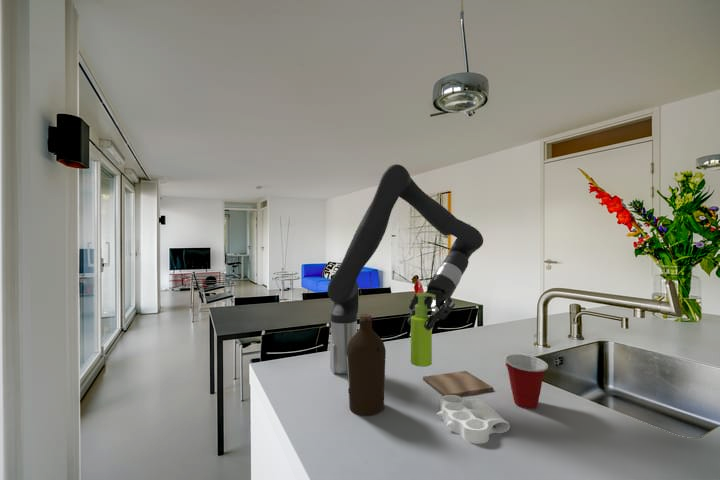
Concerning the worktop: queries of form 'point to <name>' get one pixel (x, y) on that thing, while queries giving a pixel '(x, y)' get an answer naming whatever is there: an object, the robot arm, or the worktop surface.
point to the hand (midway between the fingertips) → (418, 326)
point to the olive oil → (366, 369)
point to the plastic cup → (525, 378)
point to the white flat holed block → (471, 418)
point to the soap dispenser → (421, 334)
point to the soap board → (457, 383)
